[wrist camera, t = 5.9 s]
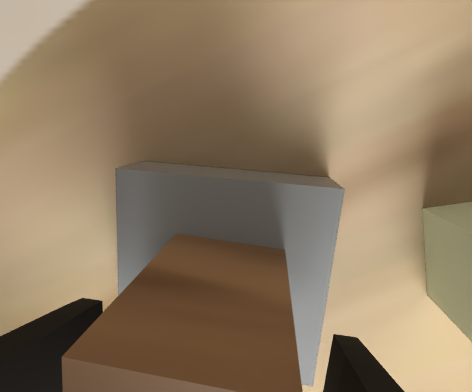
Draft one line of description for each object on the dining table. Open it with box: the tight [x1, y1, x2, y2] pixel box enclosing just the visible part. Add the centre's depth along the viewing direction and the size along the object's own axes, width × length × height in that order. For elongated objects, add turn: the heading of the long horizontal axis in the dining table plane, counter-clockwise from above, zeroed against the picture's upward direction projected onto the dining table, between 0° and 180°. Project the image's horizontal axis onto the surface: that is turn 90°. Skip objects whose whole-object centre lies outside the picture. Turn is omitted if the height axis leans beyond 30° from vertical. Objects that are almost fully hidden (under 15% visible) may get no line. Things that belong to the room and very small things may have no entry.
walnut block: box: [62, 234, 302, 392], centre depth 8 cm, size 4×4×6 cm
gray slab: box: [116, 161, 345, 386], centre depth 12 cm, size 8×8×3 cm
